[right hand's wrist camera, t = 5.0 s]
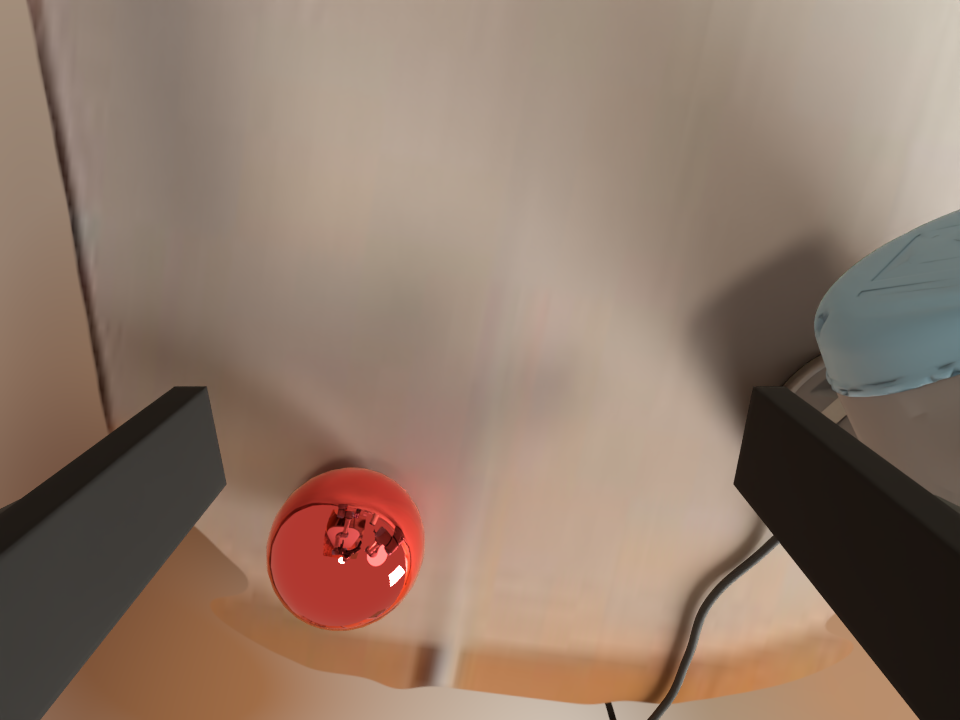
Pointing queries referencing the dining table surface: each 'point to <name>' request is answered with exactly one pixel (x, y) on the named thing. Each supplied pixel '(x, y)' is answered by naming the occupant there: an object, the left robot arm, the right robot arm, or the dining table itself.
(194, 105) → the dining table surface
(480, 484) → the dining table surface
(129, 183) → the dining table surface
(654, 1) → the dining table surface
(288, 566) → the ball
